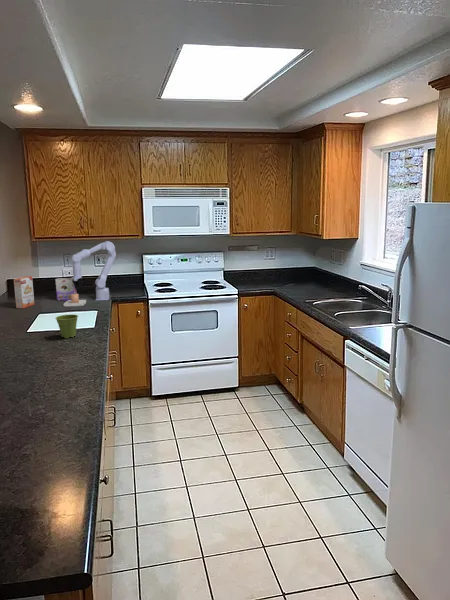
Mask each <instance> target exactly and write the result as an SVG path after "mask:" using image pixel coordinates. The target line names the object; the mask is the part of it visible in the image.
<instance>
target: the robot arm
mask: <svg viewBox="0 0 450 600" xmlns="http://www.w3.org/2000/svg"><path fill="white" fill-rule="evenodd" d="M99 250H100V251H101V250H103V251H104V250H106V252H107V258H106V261H105V263H104V264H103V267H102V269H101V272H100V274H99V275H98V277H97V278H96V280H95V282H94V283H95V286H96V287H95V295H96V296H95V297H96V298H95V300H94V301H109V300H110V289H109V287H106V281H107V277H108V276H109V273H110V270H111V268H112V265H113V263H114V261H115V259H116V256H117V253H116V246H115V245H114V243H113V242H111V241H109V240H106V241H104V242H101V243H99V244H96V245H95V246H92V247H90V249H86V248H85V249H82V250H81V251H78V252H76V253H75V254H72V256H71V261H72V262H71V264H72V274H73V275H72V276H71V278H74V281H72V282H73V283H74V286H75V289H76V291H79V290H80V289H82V284H83V280H84V278H83V275H82V267H81V265H82V264H81V261H83V260H84V259H87V258H89V257H91V254H93V253H95V252H97V251H99Z"/></svg>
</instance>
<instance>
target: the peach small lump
mask: <svg viewBox="0 0 450 600" xmlns="http://www.w3.org/2000/svg"><path fill="white" fill-rule="evenodd" d="M79 295H80V294H79V293H77V294H71V299H72V303H79V300H80V297H79Z"/></svg>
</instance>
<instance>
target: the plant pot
mask: <svg viewBox="0 0 450 600" xmlns="http://www.w3.org/2000/svg"><path fill="white" fill-rule="evenodd" d="M78 317H79V315H78V314H63V315H58V316H55V318H54V319H55V320H56V322H57V324H58V328H59V332H60V335H61V338H62V337H64V338H63V339H70V338H69V337H73V338H74V336H75V337H76V336H77V335H76V334H77V325H78V324H77V323H78Z"/></svg>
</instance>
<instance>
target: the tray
mask: <svg viewBox="0 0 450 600" xmlns="http://www.w3.org/2000/svg"><path fill="white" fill-rule="evenodd" d="M86 303H87V299H79V303H72V300H68V301H65V302H64V303H63V307H83V306H84V305H85V304H86Z"/></svg>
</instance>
